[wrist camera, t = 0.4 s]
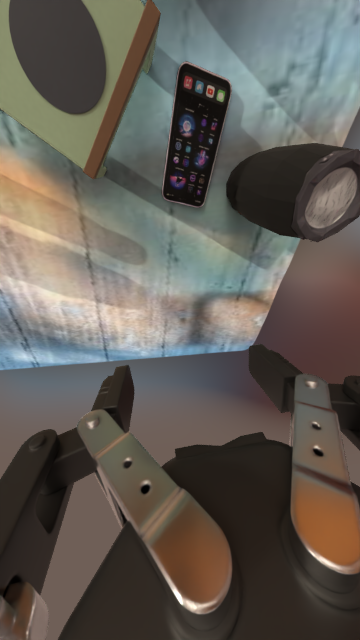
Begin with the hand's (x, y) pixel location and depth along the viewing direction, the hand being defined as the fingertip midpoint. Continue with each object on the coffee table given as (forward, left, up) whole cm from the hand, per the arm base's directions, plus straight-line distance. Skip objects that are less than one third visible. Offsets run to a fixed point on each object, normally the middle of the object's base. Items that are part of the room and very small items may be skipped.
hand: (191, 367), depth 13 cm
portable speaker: (+9, +16, -31) cm, 36 cm away
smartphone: (-2, +14, -31) cm, 34 cm away
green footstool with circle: (-17, +10, -31) cm, 36 cm away
